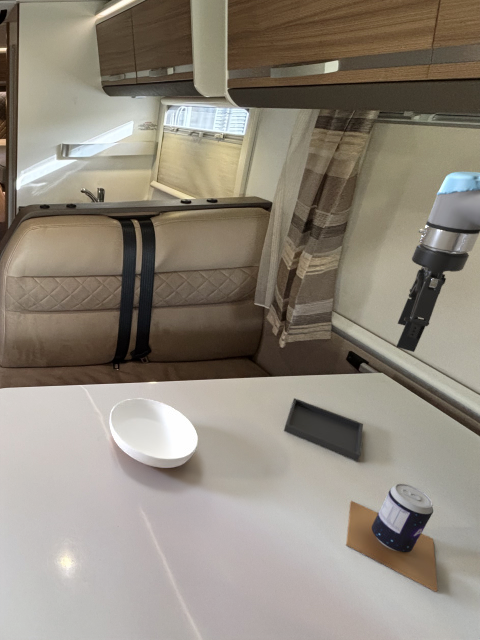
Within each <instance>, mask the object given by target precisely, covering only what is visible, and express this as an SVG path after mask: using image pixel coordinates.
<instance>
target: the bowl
mask: <svg viewBox="0 0 480 640" xmlns="http://www.w3.org/2000/svg"><path fill="white" fill-rule="evenodd" d="M109 428H110V433H111V435H112V438H113V440H114V442H115V443H116V444H117V446H118V447H119V449H121V451H122V452H124V453H125V454H127V455H128V456H129V457H130V458H132V459H134V460H135V461H138V462H139V463H141V464H144V465H146V466H150V467H153V468H161V469H169V468H170V469H171V468H177V467H180V466H182V465H184V464H185V463H186V462H188V461H189V460H190V459H191V458H192V457H193V455H194V454H195V451H196V450H197V448H198V444H199V436H198V433H197V430H196V428H195V426H194V425H193V423H192V421H190V420H189V419H188V417H186V416H185V415H184V414H182V413H181V412H180V411H179V410H177V409H176V408H174V407H173V406H170V405H168V404H166V403H164V402H161V401H157V400H155V399H149V398H142V397H138V398H133V397H132V398H128V399H125V400H121V401H120V402H118V403H117V404H115V405H114V406H113V407H112V408H111V411H110V413H109Z"/></svg>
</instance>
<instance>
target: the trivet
mask: <svg viewBox="0 0 480 640" xmlns="http://www.w3.org/2000/svg"><path fill="white" fill-rule="evenodd" d="M378 513H379V512H376V511H375V510H372V509H370V508H368V507H366V506H364V505H361V504H359V503H357V502H355V501H353V500H350V502H349V510H348V520H347V521H348V522H347V533H346V541H345V542H346V543H345V546H346V547H349V548H351V549H352V550H355V551H357V552H359V553H360V554H362V555H364V556H366V557H368V558H370V559H372V560H374V561H376V562H378V563H379V564H381V565H383V566H386V567H387V568H389V569H391V570H393V571H395V572H397V573H399V574H400V575H403V576H404V577H406V578H409V579H410V580H413V581H414V582H416V583H418V584H420V585H422V586H424V587H426V588H428V589H430V590H432V591H434V592H435V593H437V592H438V591H439V590H438V578H437V567H436V557H435V546H434V538H432V537H430V536H428V535H426V534H424V533H423V532H422V533H421V535H420V536H419V538H418V540H417V542H416V544H415V545H414V547H413V549H412V550H411V551H410V552H400V551H395V550H392V549H390V548H388V547H386V546H385V545H383V544H382V543H381V542H380V541H379V540H378V539H377V537H376V536H375V535H374V533H373V531H372V525H373V523H374V521H375V519H376V517H377V515H378Z"/></svg>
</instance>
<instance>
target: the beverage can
mask: <svg viewBox="0 0 480 640" xmlns="http://www.w3.org/2000/svg"><path fill="white" fill-rule="evenodd" d="M433 506H434V502H433V500H432V499H431V497H430V496H429V495H427V494H426V493H425V492H424V491H422V490H420V489H419V488H417V487H415V486H412V485H410V484H406V483H396V484H395V486H391V488H390V489H389V490H388V492H387V495H386V497H385V499H384V501H383V502H382V505H381V507H380V509H379V510H378V512H377V513H378V515H377V517H376V519H375V521H374V523H373V525H372V531H373V533H374V535H375V536H376V537H377V539H378V540H379V541H380V542H381V543H382V544H383V545H385V546H386V547H388V548H390V549H392V550H395V551H400V552H410V551H411V550H412V549H413V547H414V545H415V544H416V542H417V540H418V538H419V536H420V535H421V533H422V534H423V531H424V529H425V527H426V526H427V524H428V522H429V521H430V518H431V517H432V516H433V513H434V508H433Z"/></svg>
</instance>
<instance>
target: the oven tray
mask: <svg viewBox="0 0 480 640" xmlns="http://www.w3.org/2000/svg"><path fill="white" fill-rule="evenodd" d="M283 431H284V432H286V433H288V434H289V435H292V436H295V437H297V438H299V439H303V440H305V441H307V442H309V443H312V444H314V445H317V446H318V447H321V448H324V449H326V450H329V451H331V452H333V453H335V454H338V455H341V456H343V457H345V458H348V459H350V460H353V461H355V462H357V463H358V462H359V460H360V457H361V455H362V443H363V431H364V423H362V422H359V421H356V420H354V419H352V418H349V417H346V416H344V415H341V414H338V413H335V412H332V411H330V410H327V409H325V408H321V407H319V406H317V405H314V404H311V403H308V402H306V401H303V400H301V399H298V398H293V400H292V402H291V406H290V409H289V412H288V416H287V419H286V422H285V426H284V429H283Z"/></svg>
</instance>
